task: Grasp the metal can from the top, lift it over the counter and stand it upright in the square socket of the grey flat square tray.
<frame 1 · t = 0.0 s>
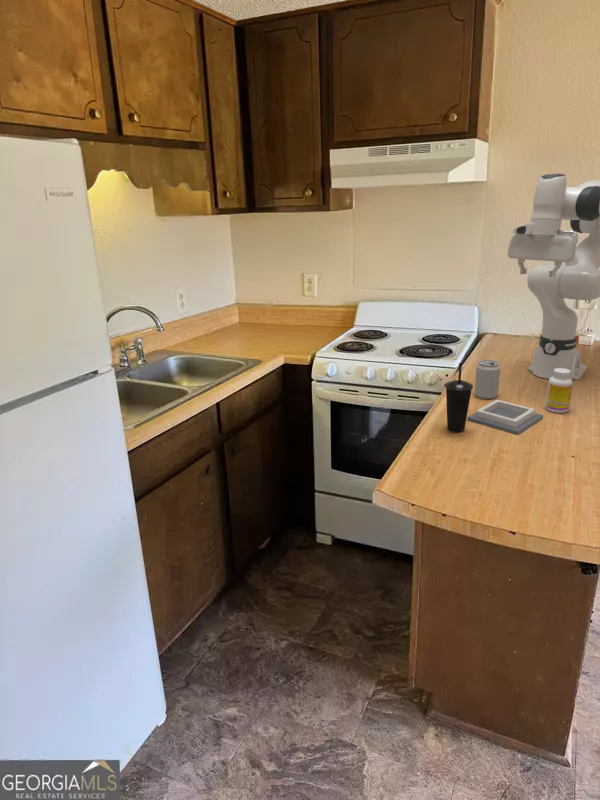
hand: (537, 275, 180), 39 cm above the table, tool pointing down, fingers open, 8 cm apart
supplement bottle: (556, 410, 178), on the table
drinking cup: (455, 429, 166), on the table
grey flat square tray: (504, 419, 172), on the table
can: (485, 396, 190), on the table
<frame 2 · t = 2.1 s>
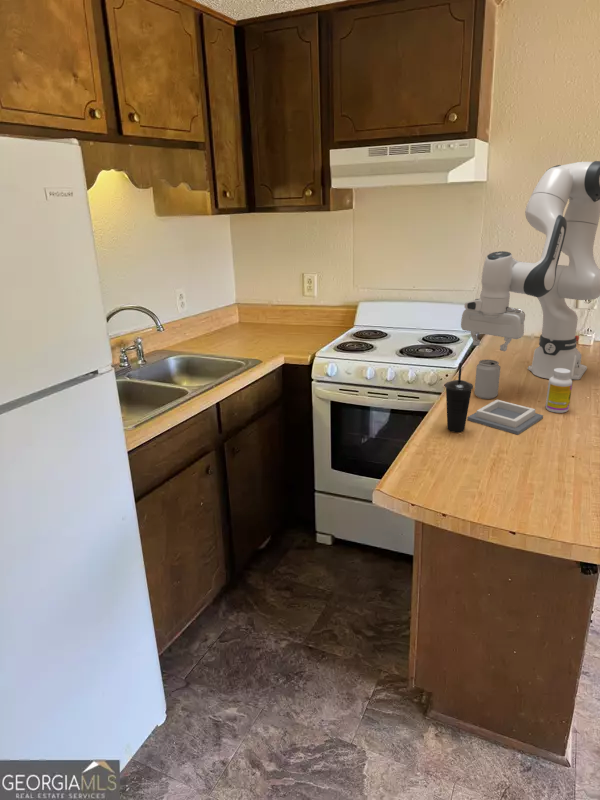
hand: (489, 347, 184), 17 cm above the table, tool pointing down, fingers open, 8 cm apart
nothing on the table moved.
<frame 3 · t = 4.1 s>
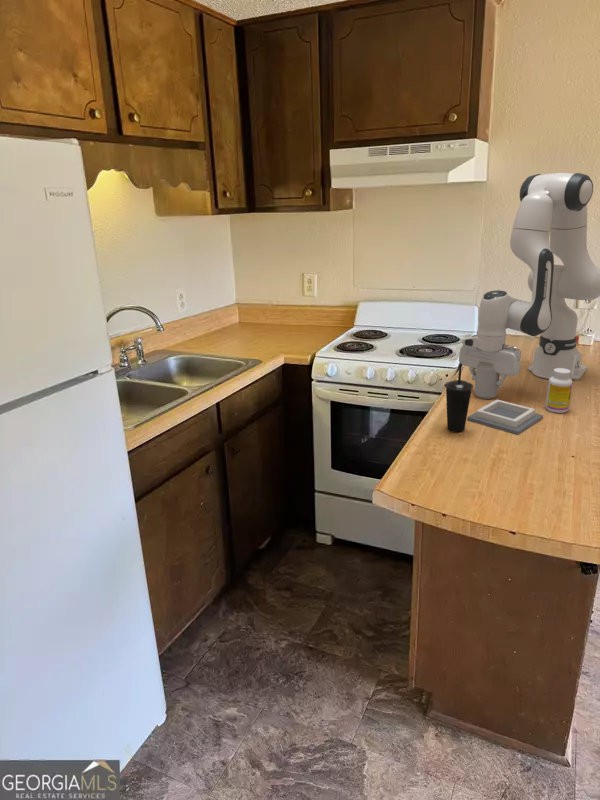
hand: (487, 382, 189), 5 cm above the table, tool pointing down, fingers closed on can, 7 cm apart
can: (485, 396, 190), on the table, touching gripper
everything else where it was.
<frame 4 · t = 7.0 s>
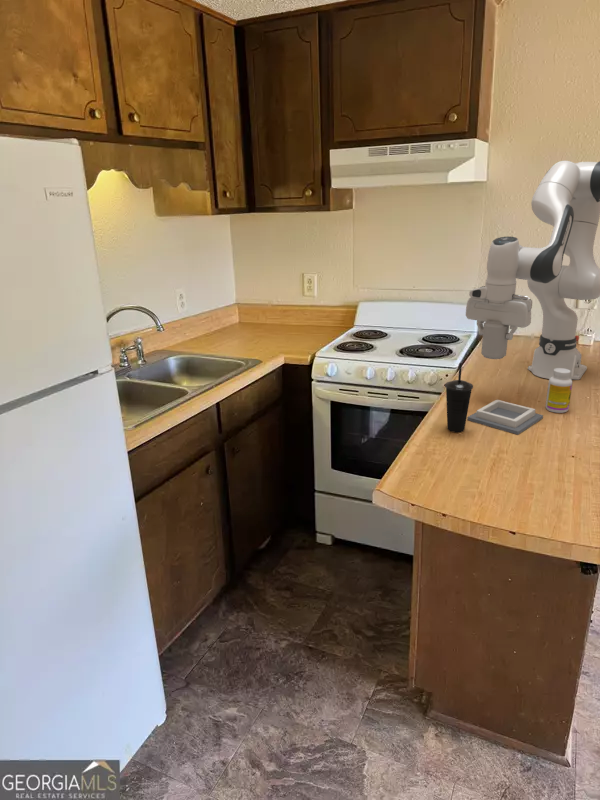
hand: (495, 337, 178), 22 cm above the table, tool pointing down, fingers closed on can, 7 cm apart
can: (493, 357, 180), point 15 cm above the table, touching gripper
everything else where it was.
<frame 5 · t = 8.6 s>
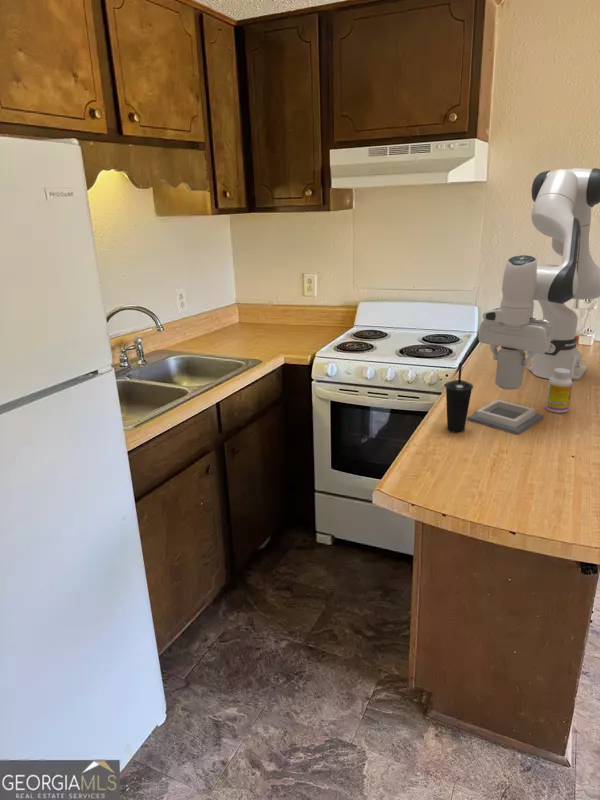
hand: (510, 362, 165), 18 cm above the table, tool pointing down, fingers closed on can, 7 cm apart
can: (508, 387, 168), point 10 cm above the table, touching gripper
everything else where it was.
when the fingers open (9 cm above the table, at t = 10.0 s): can stays where it is, resting on grey flat square tray.
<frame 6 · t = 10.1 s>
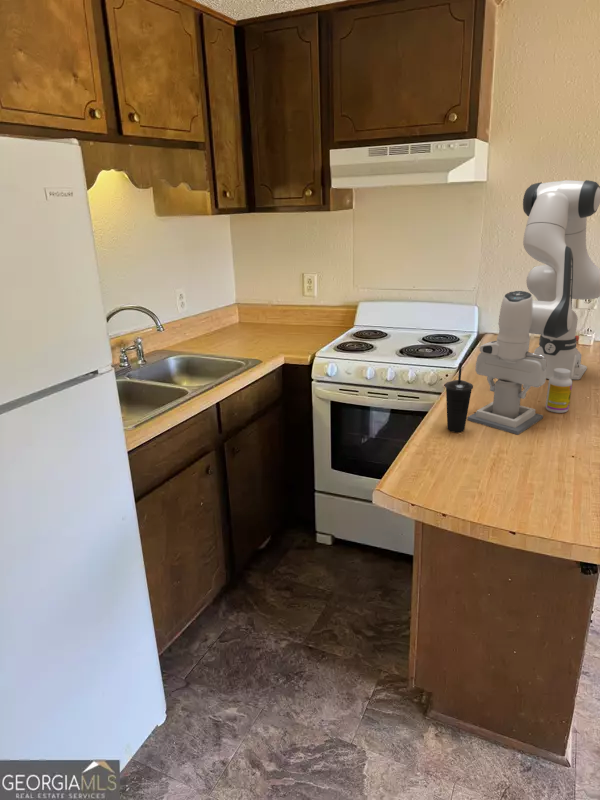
hand: (507, 394, 169), 8 cm above the table, tool pointing down, fingers open, 7 cm apart
can: (505, 416, 171), point 1 cm above the table, touching grey flat square tray
everything else where it was.
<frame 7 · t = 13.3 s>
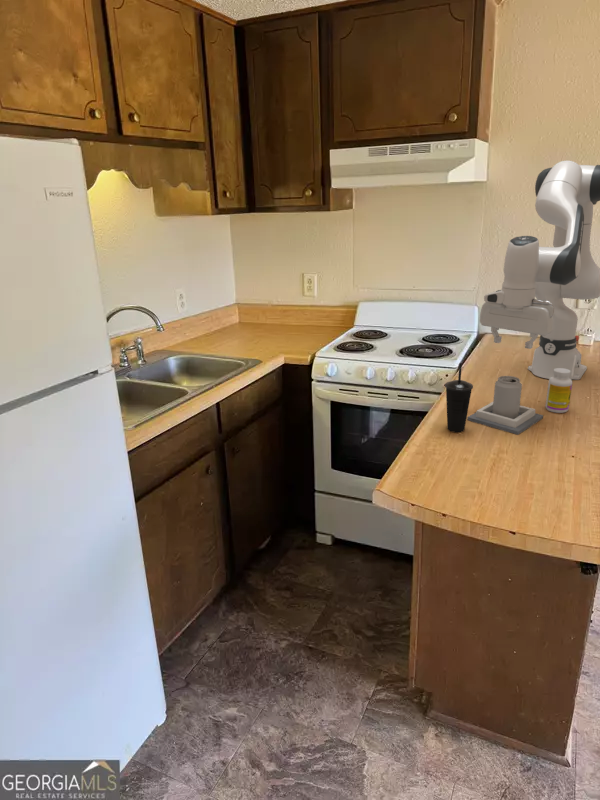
hand: (512, 345, 164), 23 cm above the table, tool pointing down, fingers open, 8 cm apart
nothing on the table moved.
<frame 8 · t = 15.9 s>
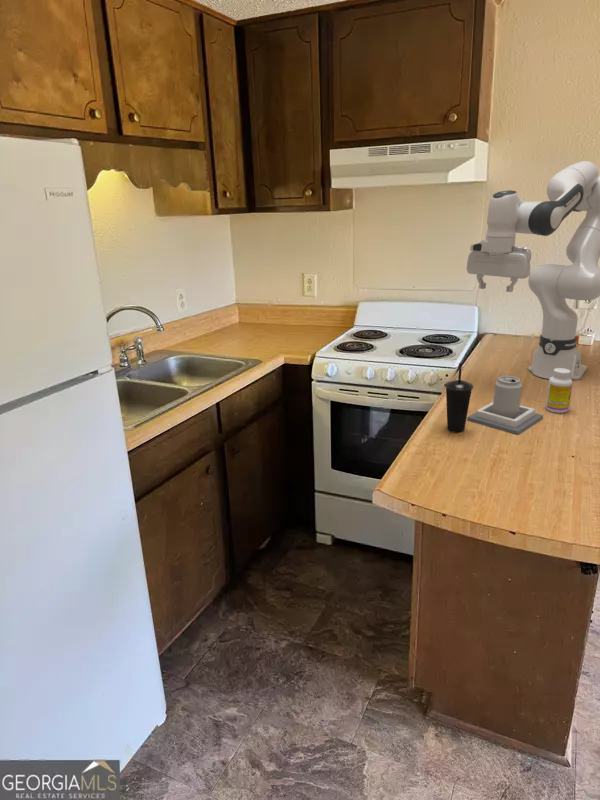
hand: (495, 290, 184), 34 cm above the table, tool pointing down, fingers open, 8 cm apart
nothing on the table moved.
at the end: can 0.1 cm off-centre on the grey flat square tray, point 0.8 cm above the grey flat square tray's base; can tilted 0°; the gripper is holding nothing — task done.
